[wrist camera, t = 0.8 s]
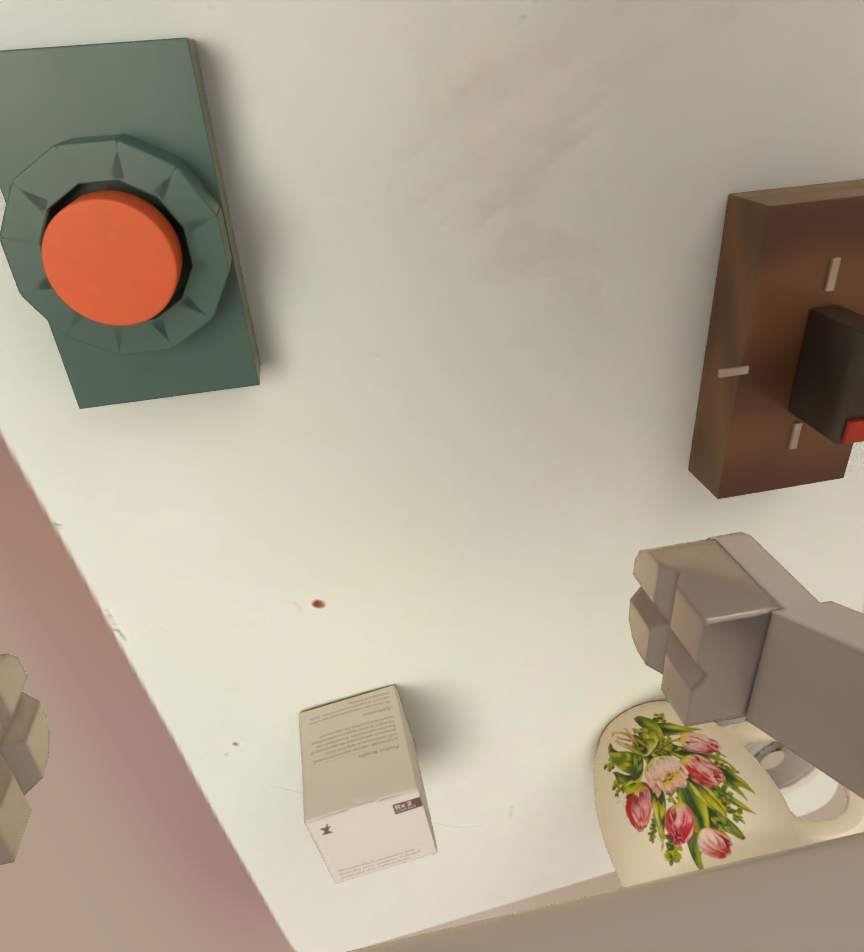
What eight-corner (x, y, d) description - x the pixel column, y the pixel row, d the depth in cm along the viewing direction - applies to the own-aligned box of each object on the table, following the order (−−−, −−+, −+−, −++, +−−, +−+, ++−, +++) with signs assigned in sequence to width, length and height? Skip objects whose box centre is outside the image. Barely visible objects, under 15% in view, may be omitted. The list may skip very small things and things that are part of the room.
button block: (-23, 54, 23) (-73, 53, 20) (194, 38, 24) (181, 36, 21) (91, 387, 30) (68, 429, 26) (260, 365, 30) (259, 403, 27)
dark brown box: (809, 308, 31) (871, 337, 28) (839, 304, 31) (903, 332, 28) (787, 411, 33) (840, 448, 30) (814, 407, 34) (870, 443, 30)
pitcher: (789, 714, 51) (941, 907, 40) (566, 821, 53) (650, 1038, 41) (760, 620, 45) (929, 815, 34) (511, 744, 47) (590, 971, 35)
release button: (37, 196, 23) (20, 205, 21) (166, 183, 23) (158, 192, 22) (78, 317, 25) (65, 333, 23) (195, 303, 25) (190, 318, 24)
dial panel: (705, 196, 30) (746, 209, 28) (895, 175, 32) (952, 186, 29) (668, 473, 38) (698, 504, 35) (824, 447, 39) (865, 476, 36)
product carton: (324, 772, 45) (332, 888, 38) (297, 709, 41) (301, 825, 35) (417, 745, 45) (440, 855, 39) (397, 681, 42) (419, 791, 36)
